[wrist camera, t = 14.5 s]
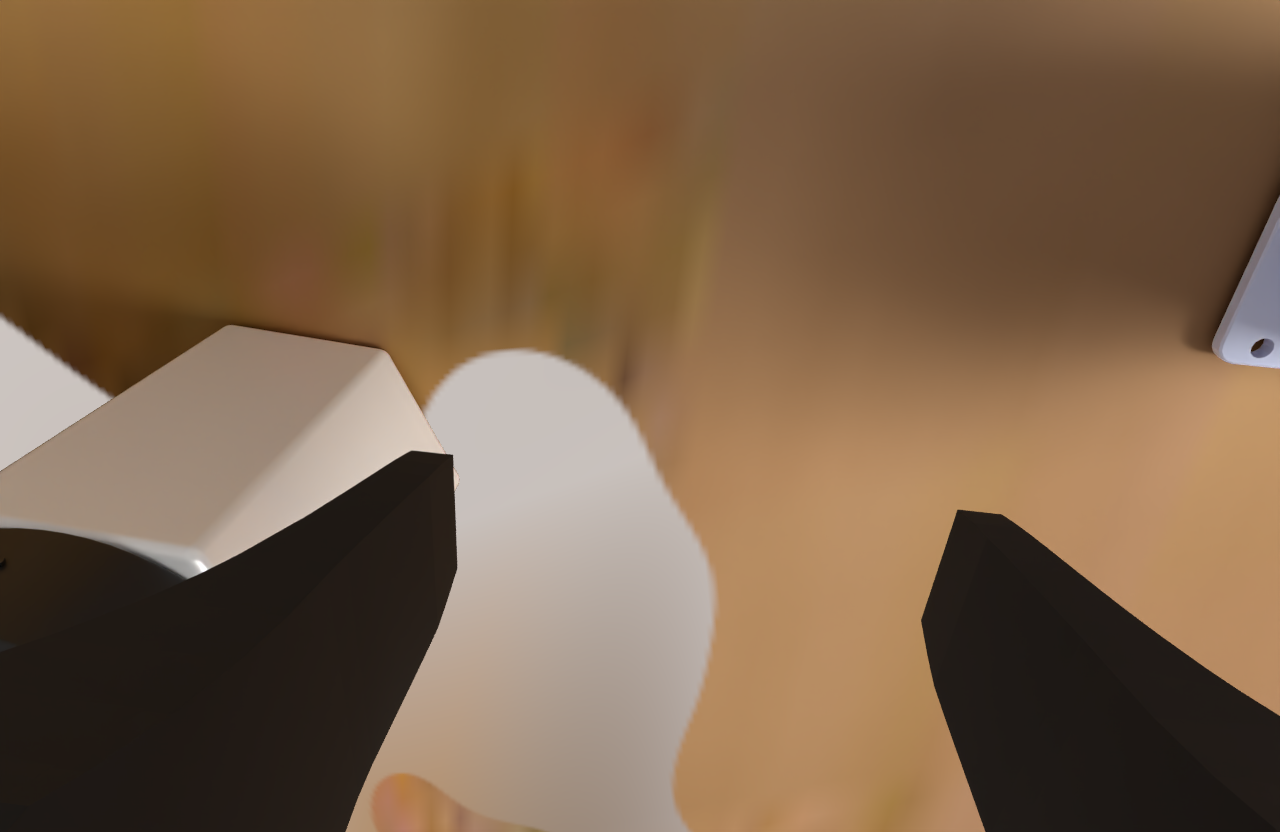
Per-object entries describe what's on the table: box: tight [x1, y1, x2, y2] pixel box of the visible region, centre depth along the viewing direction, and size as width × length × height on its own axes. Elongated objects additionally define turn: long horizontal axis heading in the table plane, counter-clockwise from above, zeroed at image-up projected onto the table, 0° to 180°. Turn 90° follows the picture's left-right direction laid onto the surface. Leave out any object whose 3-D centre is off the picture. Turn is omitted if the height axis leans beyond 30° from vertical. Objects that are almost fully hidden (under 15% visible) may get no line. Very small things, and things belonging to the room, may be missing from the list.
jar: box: [0, 325, 460, 652], centre depth 18 cm, size 9×8×12 cm
